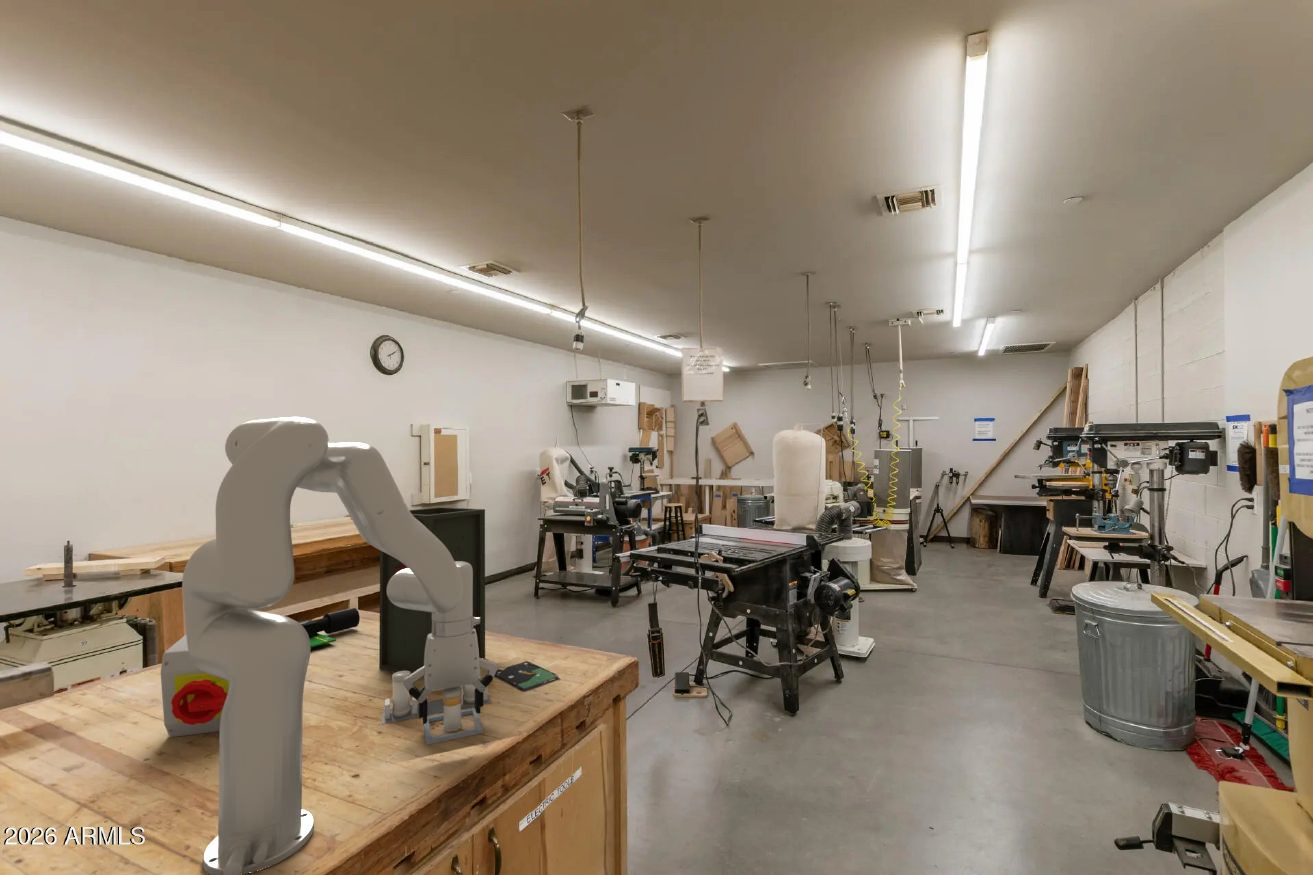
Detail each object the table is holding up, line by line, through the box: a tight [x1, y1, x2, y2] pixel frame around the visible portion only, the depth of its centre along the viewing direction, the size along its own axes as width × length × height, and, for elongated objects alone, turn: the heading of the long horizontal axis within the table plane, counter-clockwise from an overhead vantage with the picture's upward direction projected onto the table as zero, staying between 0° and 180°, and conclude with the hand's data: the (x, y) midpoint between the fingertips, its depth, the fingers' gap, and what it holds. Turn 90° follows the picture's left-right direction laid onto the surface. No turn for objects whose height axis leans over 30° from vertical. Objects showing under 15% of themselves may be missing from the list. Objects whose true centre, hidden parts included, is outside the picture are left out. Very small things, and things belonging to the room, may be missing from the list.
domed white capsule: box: [391, 671, 411, 717], centre depth 114 cm, size 3×3×8 cm
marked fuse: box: [442, 687, 463, 732], centre depth 108 cm, size 3×3×8 cm
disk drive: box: [494, 660, 561, 692], centre depth 133 cm, size 10×3×15 cm
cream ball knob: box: [463, 674, 481, 703], centre depth 120 cm, size 3×3×8 cm
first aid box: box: [378, 506, 486, 674], centre depth 147 cm, size 18×18×40 cm
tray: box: [423, 707, 484, 746], centre depth 108 cm, size 10×10×2 cm
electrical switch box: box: [160, 634, 229, 738], centre depth 111 cm, size 15×15×20 cm
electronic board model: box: [297, 607, 361, 649], centre depth 163 cm, size 30×7×15 cm
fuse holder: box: [381, 685, 492, 725], centre depth 117 cm, size 7×21×4 cm, turn 115°
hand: (451, 715), depth 108 cm, fingers open, 9 cm apart
